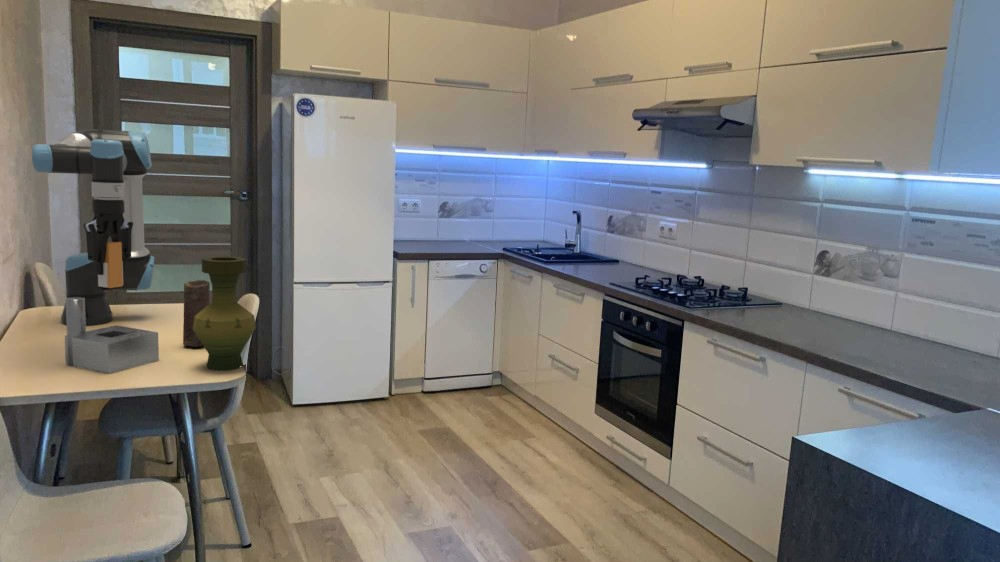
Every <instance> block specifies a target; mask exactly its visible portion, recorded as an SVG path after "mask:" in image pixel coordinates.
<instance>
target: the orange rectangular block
mask: <svg viewBox="0 0 1000 562" xmlns="http://www.w3.org/2000/svg"><path fill="white" fill-rule="evenodd" d="M104 263H107V268H108V287H106V288H114V287H121V286H123V279H122V242H112V240H110V241H109V240H108V241H107V243H106V255H105V261H104ZM99 287H100V286H99Z"/></svg>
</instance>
